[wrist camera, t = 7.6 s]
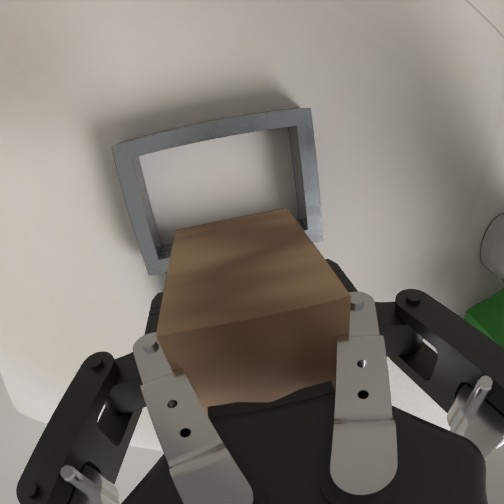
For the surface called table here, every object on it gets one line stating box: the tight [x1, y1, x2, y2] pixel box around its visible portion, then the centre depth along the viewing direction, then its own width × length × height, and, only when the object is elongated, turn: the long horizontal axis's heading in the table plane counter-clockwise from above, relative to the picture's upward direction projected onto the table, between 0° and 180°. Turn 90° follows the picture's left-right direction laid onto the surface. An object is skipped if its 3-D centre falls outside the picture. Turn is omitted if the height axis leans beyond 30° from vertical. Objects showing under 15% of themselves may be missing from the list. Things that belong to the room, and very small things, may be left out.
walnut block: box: [156, 209, 351, 416], centre depth 12 cm, size 5×5×7 cm
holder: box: [112, 108, 323, 276], centre depth 28 cm, size 17×12×3 cm
